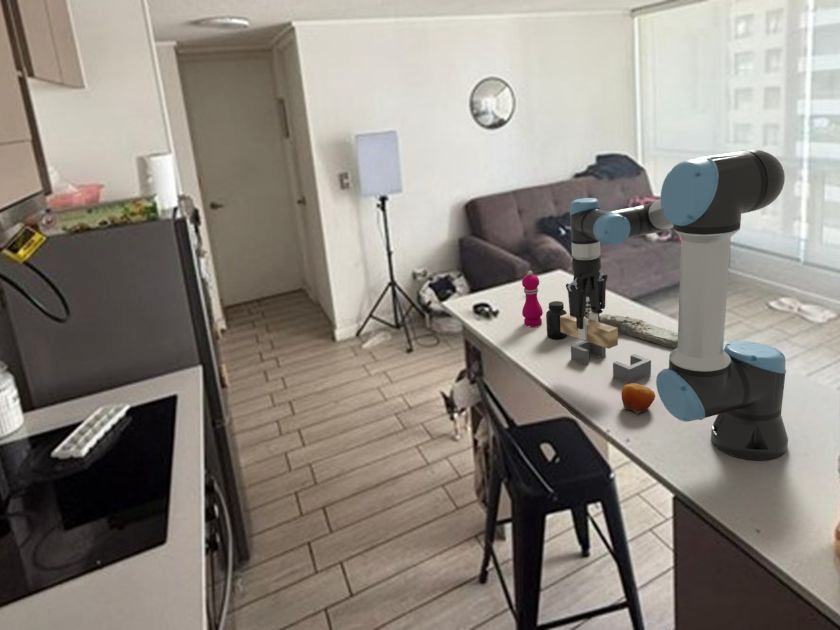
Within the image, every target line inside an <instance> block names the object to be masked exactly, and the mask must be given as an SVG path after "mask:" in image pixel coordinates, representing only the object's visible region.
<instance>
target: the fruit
mask: <svg viewBox="0 0 840 630" xmlns="http://www.w3.org/2000/svg"><path fill="white" fill-rule="evenodd" d="M655 398H656V394H655V391H654V390H652V389H651V388H650V387H648V386H646V385H642V384H641V383H639V384H638V383H635V382H633V383H631V384H628V383H627V384H625V385H623V387H622V390H621V401H622V406H623V407H624V408H623V409H624V411H626V410H629V411H630V410H631V411H633V412H635V413H636V415H637V417H639V413H641V412H646V411H647V410H648V409H649V408H650V407H651V405H652V404H653V402H654V400H656V399H655Z"/></svg>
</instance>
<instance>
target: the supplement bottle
mask: <svg viewBox="0 0 840 630" xmlns="http://www.w3.org/2000/svg"><path fill="white" fill-rule="evenodd" d="M564 305H565V304H564V302H563V301H559V300H555V301H554V300H553V301H550V302H549V303H548V310H547V311H546V313H545V314H546V315H545V317H546V318H545V320H546V323H545V324H546V336H547V338H548V339H549V340H552V341H560V340H562V341H563V340H564V339H566V338H567V337H568V335H567V334H565V333H562V332H561V327H560V316H562V315H565V314H568V312H567V311H566V310H565V309H564V308H565V307H564Z"/></svg>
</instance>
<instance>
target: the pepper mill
mask: <svg viewBox="0 0 840 630" xmlns="http://www.w3.org/2000/svg"><path fill="white" fill-rule="evenodd" d="M521 285H522V287H524V288H523V293H524V294H525V302H524V305H523V307H522V312H521V314H522V317H523V318H524V320H523V323H524V324H523V325H524V326H525V325H526V327H528V326H530V327H529V328H537V327H540V326H541V325H543V321H542V318H541V317H542V316H543V314H544V312H543V311H544V310H543V308H542V306H541V303H540V302H539V299H538V292H539V287H538V286H539V285H540V279H539V277H538V276H537V275H535V274H534V273H533V270H528V272H527V274H526V275H525V276H523V278H522V281H521ZM536 326H537V327H536Z"/></svg>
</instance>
